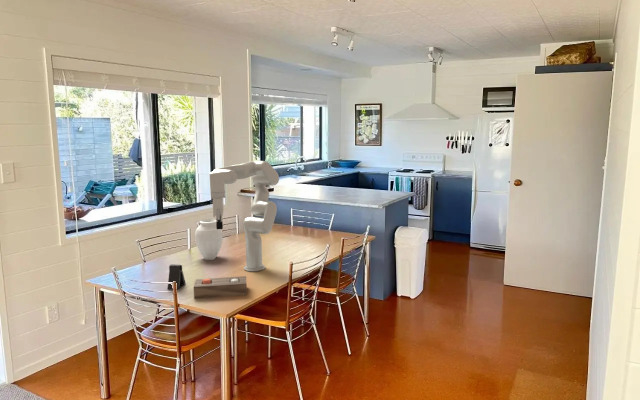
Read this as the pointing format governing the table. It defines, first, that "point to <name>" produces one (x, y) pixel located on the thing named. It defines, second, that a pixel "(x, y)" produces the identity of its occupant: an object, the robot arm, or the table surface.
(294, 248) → the table surface
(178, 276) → the phone stand
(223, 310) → the table surface
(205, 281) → the red plug
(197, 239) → the vase
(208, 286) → the plug block
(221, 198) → the robot arm
